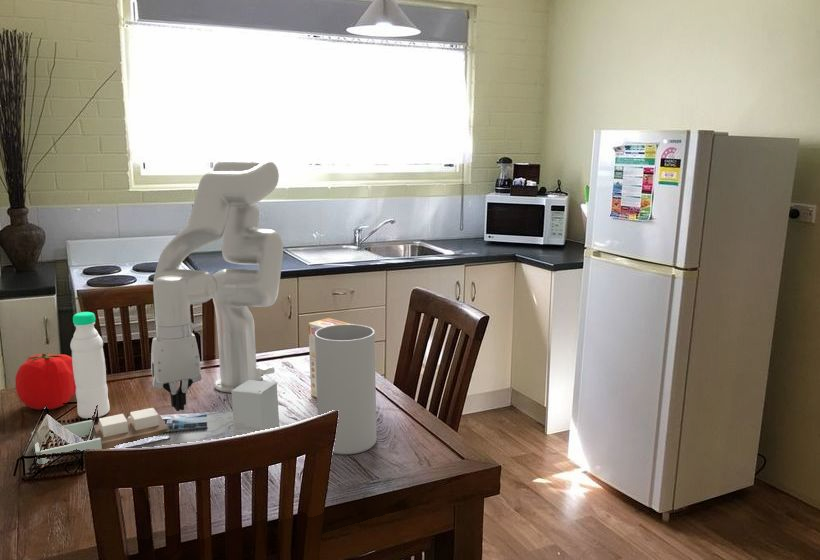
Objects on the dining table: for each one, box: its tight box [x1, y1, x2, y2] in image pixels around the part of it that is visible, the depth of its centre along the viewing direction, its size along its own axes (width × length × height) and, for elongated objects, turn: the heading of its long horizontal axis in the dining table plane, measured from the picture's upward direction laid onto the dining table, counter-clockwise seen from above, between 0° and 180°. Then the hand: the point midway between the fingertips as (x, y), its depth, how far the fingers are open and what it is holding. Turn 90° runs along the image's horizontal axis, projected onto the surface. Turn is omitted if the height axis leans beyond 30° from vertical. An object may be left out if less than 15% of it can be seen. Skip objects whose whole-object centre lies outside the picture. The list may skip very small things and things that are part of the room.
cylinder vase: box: [315, 323, 378, 455], centre depth 149 cm, size 12×12×25 cm
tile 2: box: [129, 407, 159, 430], centre depth 156 cm, size 5×5×2 cm
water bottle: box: [69, 311, 111, 420], centre depth 166 cm, size 7×7×25 cm
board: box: [93, 411, 170, 449], centre depth 155 cm, size 14×11×2 cm
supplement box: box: [231, 380, 280, 437], centre depth 152 cm, size 7×7×13 cm
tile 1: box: [98, 413, 128, 437], centre depth 153 cm, size 5×5×2 cm
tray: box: [31, 419, 102, 464], centre depth 148 cm, size 12×12×4 cm
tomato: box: [15, 352, 76, 411], centre depth 173 cm, size 16×14×14 cm
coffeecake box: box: [307, 317, 350, 398], centre depth 175 cm, size 15×7×20 cm, turn 47°
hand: (179, 408), depth 160 cm, fingers closed
